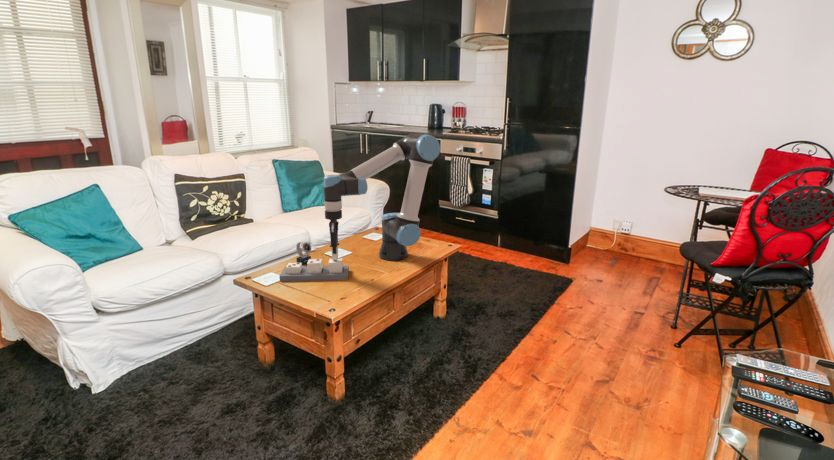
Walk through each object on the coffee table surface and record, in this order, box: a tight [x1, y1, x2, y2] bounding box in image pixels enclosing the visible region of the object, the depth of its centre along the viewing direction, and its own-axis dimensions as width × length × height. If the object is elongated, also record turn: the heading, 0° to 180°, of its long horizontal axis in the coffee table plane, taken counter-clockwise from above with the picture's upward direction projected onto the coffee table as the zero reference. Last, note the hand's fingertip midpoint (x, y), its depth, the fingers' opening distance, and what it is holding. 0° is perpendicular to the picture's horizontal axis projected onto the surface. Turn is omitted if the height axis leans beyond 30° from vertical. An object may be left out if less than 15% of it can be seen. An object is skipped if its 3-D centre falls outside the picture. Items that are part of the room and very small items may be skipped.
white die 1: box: [285, 262, 303, 274], centre depth 208 cm, size 6×6×5 cm
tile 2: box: [306, 258, 323, 274], centre depth 208 cm, size 6×6×5 cm
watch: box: [295, 240, 312, 266], centre depth 225 cm, size 6×8×11 cm
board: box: [279, 265, 350, 282], centre depth 209 cm, size 30×12×2 cm, turn 94°
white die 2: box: [327, 257, 344, 273], centre depth 209 cm, size 6×6×5 cm
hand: (335, 259), depth 208 cm, fingers closed
